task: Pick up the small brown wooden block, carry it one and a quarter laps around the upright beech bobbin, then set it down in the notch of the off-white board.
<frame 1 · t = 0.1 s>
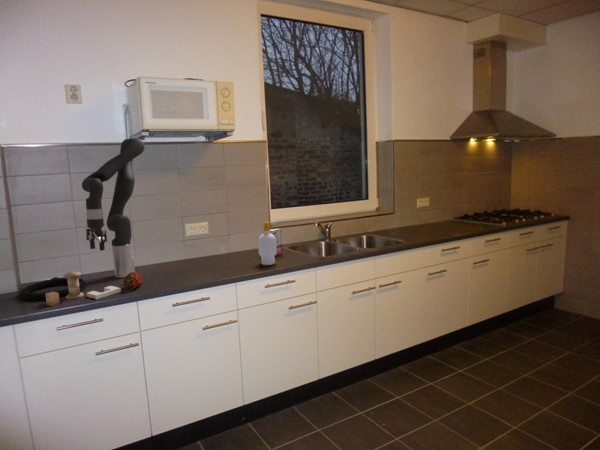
hand: (97, 249, 204), 17 cm above the table, tool pointing down, fingers open, 8 cm apart
candy bar box: (273, 255, 254), on the table
cable lock: (54, 292, 195), on the table
soap bottle: (268, 264, 233), on the table
notch board: (104, 294, 187), on the table
brown wooden block: (53, 304, 176), on the table
bobbin: (75, 297, 185), on the table
dragon fruit: (133, 288, 196), on the table
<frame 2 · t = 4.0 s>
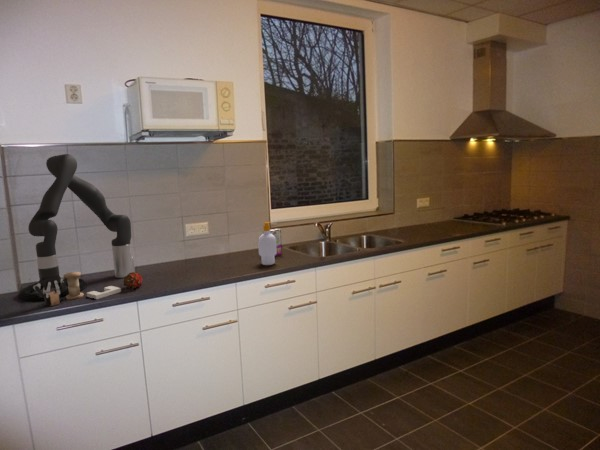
hand: (53, 303, 176), 0 cm above the table, tool pointing down, fingers closed on brown wooden block, 3 cm apart
brown wooden block: (53, 304, 176), on the table, touching gripper
everything else where it was.
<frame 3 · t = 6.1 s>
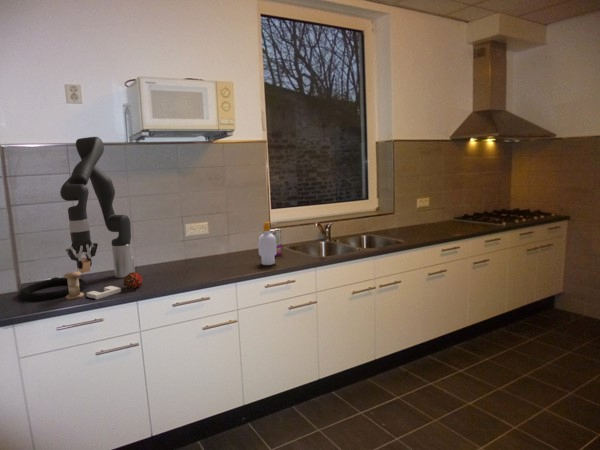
hand: (84, 267, 179), 14 cm above the table, tool pointing down, fingers closed on brown wooden block, 3 cm apart
brown wooden block: (83, 270, 180), point 13 cm above the table, tilted 19°, touching gripper
everything else where it was.
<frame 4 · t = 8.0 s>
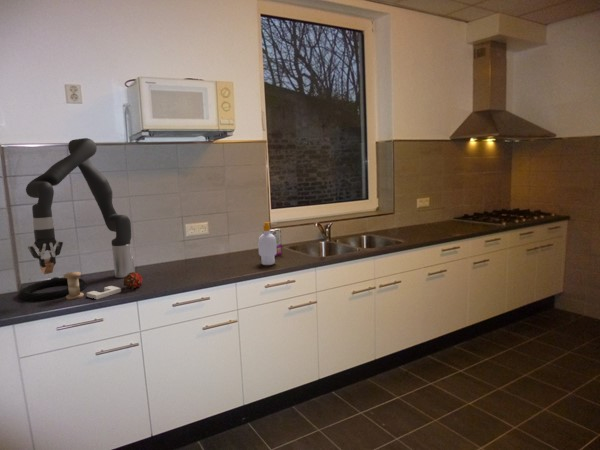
hand: (48, 266, 177), 16 cm above the table, tool pointing down, fingers closed on brown wooden block, 3 cm apart
brown wooden block: (46, 270, 179), point 14 cm above the table, tilted 32°, touching gripper
everything else where it was.
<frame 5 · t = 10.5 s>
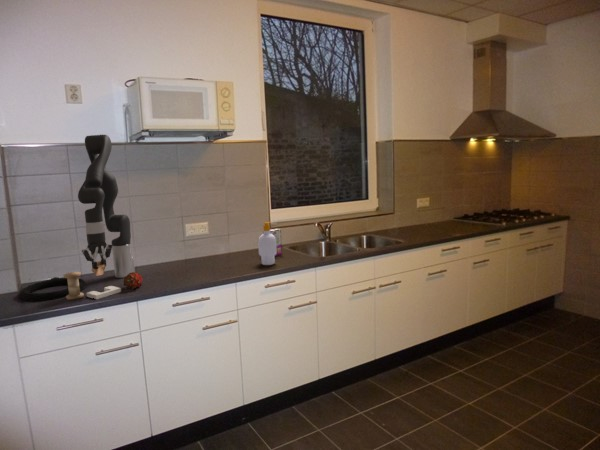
hand: (99, 268, 186), 12 cm above the table, tool pointing down, fingers closed on brown wooden block, 3 cm apart
brown wooden block: (97, 272, 188), point 10 cm above the table, tilted 32°, touching gripper
everything else where it was.
when the fingers open (3 cm above the table, at t = 12.4 s): brown wooden block drops 1 cm, on the table.
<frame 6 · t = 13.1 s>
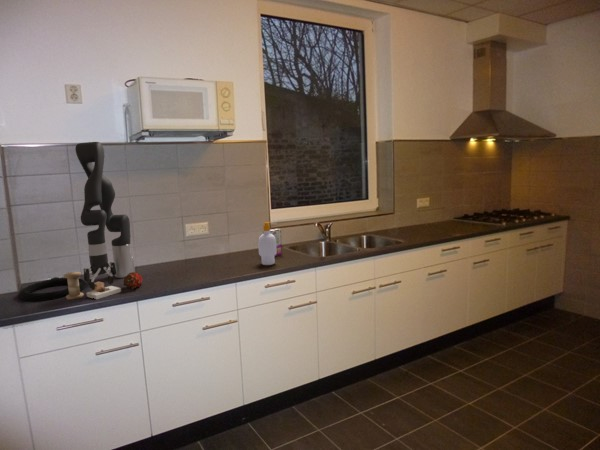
hand: (101, 286, 188), 3 cm above the table, tool pointing down, fingers open, 8 cm apart
brown wooden block: (99, 293, 189), on the table
everything else where it was.
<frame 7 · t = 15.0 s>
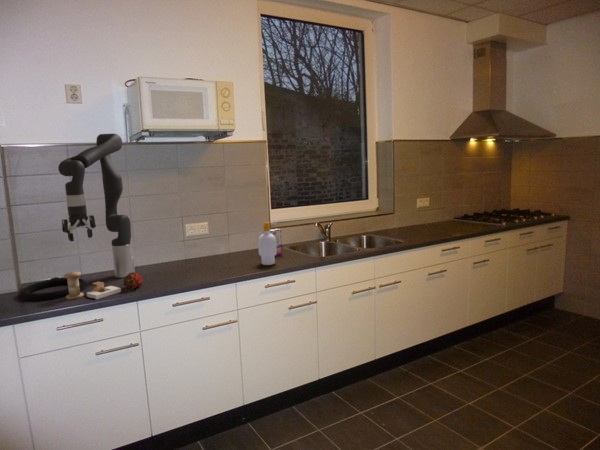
hand: (81, 239, 186), 26 cm above the table, tool pointing down, fingers open, 8 cm apart
nothing on the table moved.
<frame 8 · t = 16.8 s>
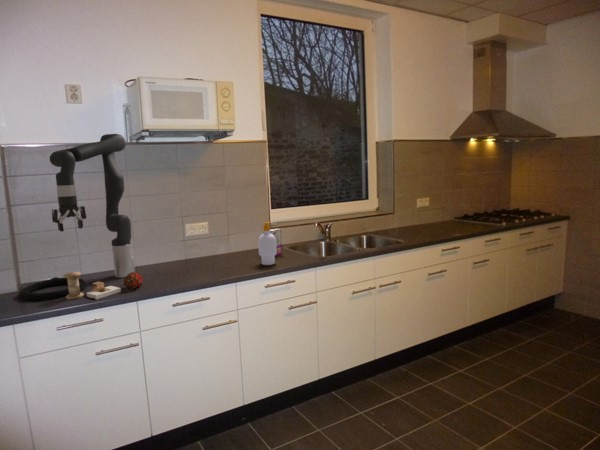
hand: (71, 229, 187), 30 cm above the table, tool pointing down, fingers open, 8 cm apart
nothing on the table moved.
at the end: brown wooden block 2.4 cm from the target spot on the notch board, point 0.0 cm above the notch board's base; brown wooden block tilted 0°; the gripper is holding nothing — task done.
